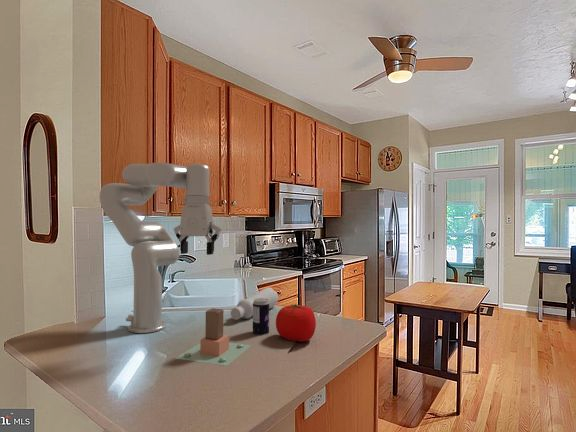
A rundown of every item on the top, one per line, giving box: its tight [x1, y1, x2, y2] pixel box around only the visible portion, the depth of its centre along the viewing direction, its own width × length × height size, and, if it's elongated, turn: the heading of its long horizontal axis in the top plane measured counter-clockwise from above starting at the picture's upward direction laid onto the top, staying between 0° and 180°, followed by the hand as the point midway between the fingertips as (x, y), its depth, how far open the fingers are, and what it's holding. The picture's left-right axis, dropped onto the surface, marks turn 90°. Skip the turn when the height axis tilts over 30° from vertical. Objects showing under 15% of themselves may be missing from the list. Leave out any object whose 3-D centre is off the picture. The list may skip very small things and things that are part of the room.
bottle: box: [230, 287, 279, 321], centre depth 145 cm, size 9×9×30 cm
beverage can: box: [252, 298, 270, 336], centre depth 118 cm, size 6×6×12 cm
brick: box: [199, 334, 230, 356], centre depth 99 cm, size 6×6×4 cm
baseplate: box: [174, 342, 252, 367], centre depth 99 cm, size 16×16×2 cm
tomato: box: [275, 303, 317, 343], centre depth 113 cm, size 13×14×12 cm
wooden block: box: [204, 308, 224, 340], centre depth 100 cm, size 4×4×8 cm
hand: (196, 253), depth 112 cm, fingers open, 9 cm apart
